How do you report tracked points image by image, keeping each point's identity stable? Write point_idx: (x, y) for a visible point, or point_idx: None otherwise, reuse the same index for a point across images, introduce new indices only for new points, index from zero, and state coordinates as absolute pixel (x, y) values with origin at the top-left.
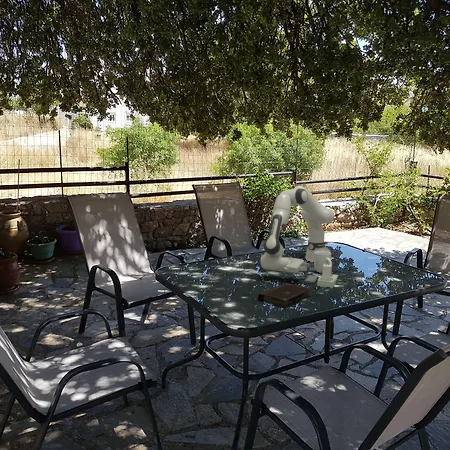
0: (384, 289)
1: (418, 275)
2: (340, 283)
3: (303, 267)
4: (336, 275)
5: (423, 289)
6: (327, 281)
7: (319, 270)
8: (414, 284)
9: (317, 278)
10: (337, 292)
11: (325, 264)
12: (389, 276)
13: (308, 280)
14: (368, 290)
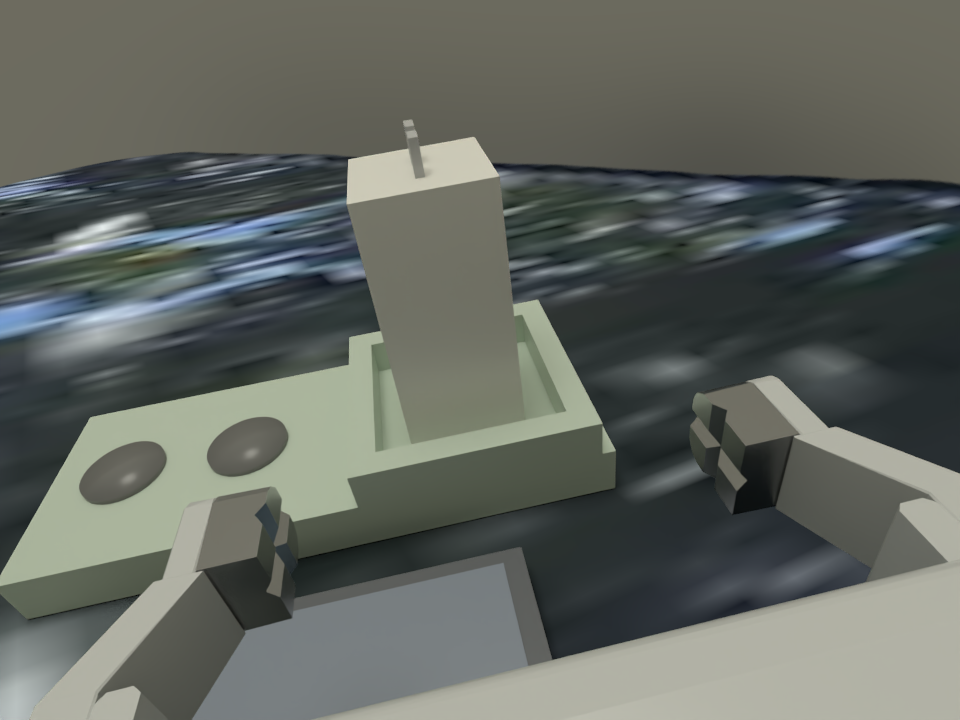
0: None
1: (6, 207)
2: None
3: (813, 442)
4: (115, 422)
5: (279, 154)
6: (553, 337)
7: None
8: (199, 179)
9: None
10: (645, 299)
11: (421, 161)
12: (28, 255)
13: (511, 665)
14: None
